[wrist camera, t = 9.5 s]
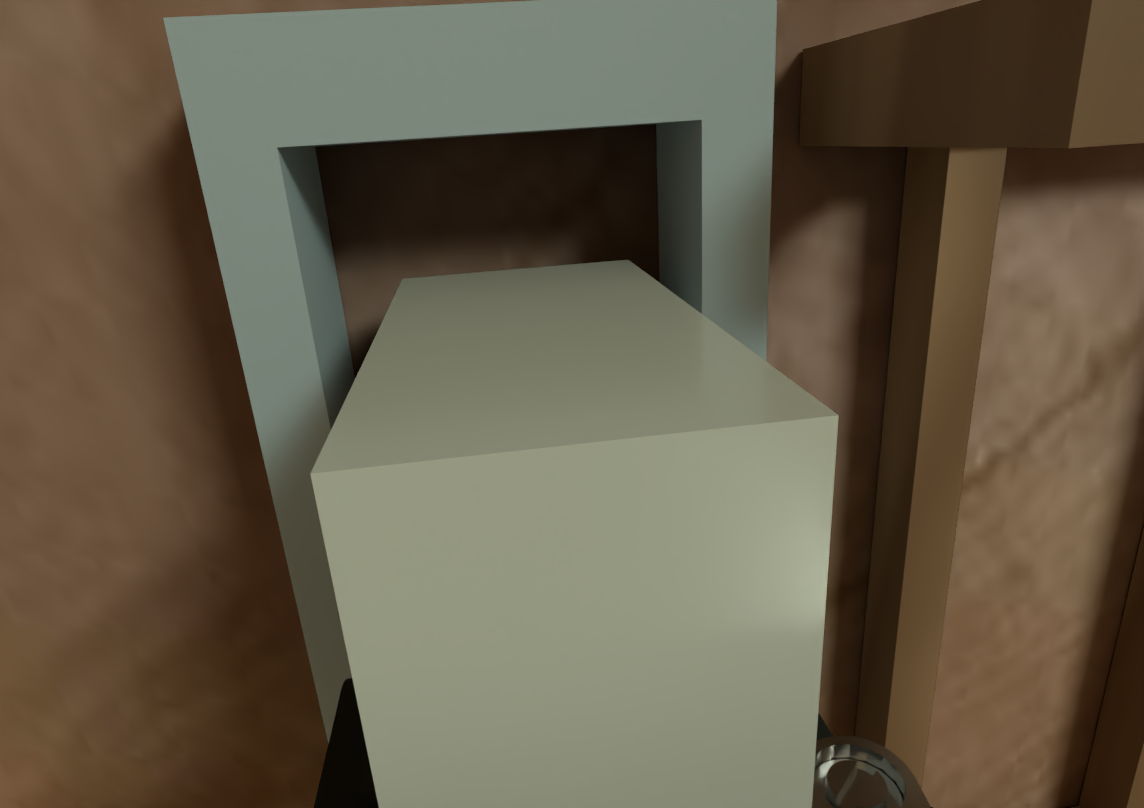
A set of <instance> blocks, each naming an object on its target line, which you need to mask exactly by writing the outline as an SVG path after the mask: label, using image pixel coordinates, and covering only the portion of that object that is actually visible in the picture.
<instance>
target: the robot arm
mask: <svg viewBox="0 0 1144 808" xmlns="http://www.w3.org/2000/svg"><path fill="white" fill-rule="evenodd" d="M314 808H379V806H378V801H377V796H376V791H375V786H374V782H373V777H372V772H371V767H370V762H369V757H368V752H367V747H366V743H365V738H364V733H363V728H362V723H361V718H360V713H359V709H358V704H357V699H356V694H355V689H354V684H353V679H352V678H349V679H346V680H345V681H344V682H343V685H342V688H341V692H340V697H339V701H338V705H337V710H336V714H335V718H334V723H333V727H332V731H331V736H330V740H329V744H328V749H327V753H326V757H325V762H324V766H323V770H322V775H321V779H320V783H319V788H318V792H317V796H316V801H315V805H314ZM812 808H932V807H930V805H929V803H928V801H927V799H926V797H925V795H924V793H923V791H922V789H921V787H920V786H919V784H918V782H917V780H916V778H915V776H914V775H913V773H912V772H911V771H910V769H909V768H908V767H907V765H906V764H905V763H904V762H903V761H902V760H901V759H900V758H898V757H897V756H896V755H895V754H894V753H893V752H891V751H890V750H888V749H886V748H884V747H882V746H880V745H879V744H877V743H875V742H872V741H869V740H866V739H862V738H859V737H854V736H841V735H837V736H832V734H831V732H830V731H829V729H828V728H827V726H826V724H825V723H824V721H823V719H822V718H821V716H820V715H819V713H818V724H817V739H816V753H815V768H814V782H813V797H812Z"/></svg>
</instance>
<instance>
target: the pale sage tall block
mask: <svg viewBox="0 0 1144 808" xmlns="http://www.w3.org/2000/svg"><path fill="white" fill-rule="evenodd" d="M838 417H839V415H838V414H836V413H835V412H834V411H832V410H831V409H829V408H828V407H827V406H825V405H824V404H823V403H821V402H820V401H819V400H817V399H816V398H815V397H813V396H812V395H811V394H809V393H808V392H807V391H805V390H804V389H802V388H801V387H800V386H798V385H797V384H796V383H794V382H793V381H792V380H790V379H789V378H788V377H786V376H785V375H784V374H782V373H781V372H779V371H778V370H777V369H775V368H774V367H773V366H771V365H770V364H769V363H767V362H766V361H765V360H763V359H762V358H761V357H759V356H758V355H757V354H755V353H754V352H752V351H751V350H750V349H748V348H747V347H746V346H744V345H743V344H742V343H740V342H739V341H738V340H736V339H735V338H734V337H732V336H731V335H729V334H728V333H727V332H725V331H724V330H723V329H721V328H720V327H719V326H717V325H716V324H715V323H713V322H712V321H711V320H709V319H708V318H706V317H705V316H704V315H702V314H701V313H700V312H698V311H697V310H696V309H694V308H693V307H692V306H690V305H689V304H688V303H686V302H685V301H684V300H682V299H681V298H679V297H678V296H677V295H675V294H674V293H673V292H671V291H670V290H669V289H667V288H666V287H665V286H663V285H662V284H661V283H659V282H658V281H656V280H655V279H654V278H652V277H651V276H650V275H648V274H647V273H646V272H644V271H643V270H642V269H640V268H639V267H638V266H636V265H635V264H633V263H632V262H631V261H629V260H618V261H606V262H594V263H583V264H571V265H559V266H547V267H536V268H524V269H512V270H500V271H488V272H477V273H465V274H453V275H441V276H430V277H418V278H406V279H402V281H401V283H400V285H399V288H398V290H397V292H396V294H395V296H394V298H393V300H392V302H391V304H390V307H389V309H388V311H387V313H386V315H385V317H384V319H383V321H382V323H381V326H380V328H379V330H378V332H377V334H376V336H375V338H374V340H373V342H372V345H371V347H370V349H369V351H368V353H367V355H366V357H365V359H364V361H363V364H362V366H361V368H360V370H359V372H358V374H357V376H356V378H355V380H354V383H353V385H352V387H351V389H350V391H349V393H348V395H347V397H346V399H345V402H344V404H343V406H342V408H341V410H340V412H339V414H338V416H337V418H336V420H335V423H334V425H333V427H332V429H331V431H330V433H329V435H328V437H327V439H326V442H325V444H324V446H323V448H322V450H321V452H320V454H319V456H318V458H317V461H316V463H315V465H314V467H313V469H312V471H311V473H310V475H311V480H312V484H313V489H314V494H315V499H316V504H317V509H318V514H319V519H320V523H321V528H322V533H323V538H324V543H325V548H326V553H327V558H328V562H329V567H330V572H331V577H332V582H333V587H334V592H335V597H336V601H337V606H338V611H339V616H340V621H341V626H342V631H343V635H344V640H345V645H346V650H347V655H348V660H349V665H350V670H351V674H352V679H353V684H354V689H355V694H356V699H357V704H358V709H359V713H360V718H361V723H362V728H363V733H364V738H365V743H366V747H367V752H368V757H369V762H370V767H371V772H372V777H373V782H374V786H375V791H376V796H377V801H378V806H379V808H812V797H813V782H814V768H815V753H816V739H817V724H818V709H819V695H820V680H821V665H822V651H823V636H824V621H825V607H826V592H827V578H828V563H829V548H830V534H831V519H832V504H833V490H834V475H835V461H836V446H837V431H838Z"/></svg>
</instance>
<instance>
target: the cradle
mask: <svg viewBox="0 0 1144 808" xmlns="http://www.w3.org/2000/svg"><path fill="white" fill-rule="evenodd" d="M163 19H164V23H165V28H166V32H167V37H168V41H169V45H170V50H171V54H172V59H173V63H174V67H175V72H176V76H177V81H178V85H179V89H180V94H181V98H182V103H183V107H184V111H185V116H186V120H187V125H188V129H189V133H190V138H191V142H192V147H193V151H194V155H195V160H196V164H197V169H198V173H199V177H200V182H201V186H202V191H203V195H204V199H205V204H206V208H207V213H208V217H209V221H210V226H211V230H212V235H213V239H214V243H215V248H216V252H217V257H218V261H219V265H220V270H221V274H222V279H223V283H224V287H225V292H226V296H227V301H228V305H229V309H230V314H231V318H232V323H233V327H234V331H235V336H236V340H237V345H238V349H239V353H240V358H241V362H242V367H243V371H244V375H245V380H246V384H247V389H248V393H249V397H250V402H251V406H252V411H253V415H254V419H255V424H256V428H257V433H258V437H259V442H260V446H261V450H262V455H263V459H264V464H265V468H266V472H267V477H268V481H269V486H270V490H271V494H272V499H273V503H274V508H275V512H276V516H277V521H278V525H279V530H280V534H281V538H282V543H283V547H284V552H285V556H286V560H287V565H288V569H289V574H290V578H291V582H292V587H293V591H294V596H295V600H296V604H297V609H298V613H299V618H300V622H301V626H302V631H303V635H304V640H305V644H306V648H307V653H308V657H309V662H310V666H311V670H312V675H313V679H314V684H315V688H316V692H317V697H318V701H319V706H320V710H321V714H322V719H323V723H324V728H325V732H326V736H327V741H328V744H329V740H330V736H331V731H332V727H333V723H334V718H335V714H336V710H337V705H338V701H339V697H340V692H341V688H342V685H343V682H344V681H345V680H346V679H349V678H352V674H351V670H350V665H349V660H348V655H347V650H346V645H345V640H344V635H343V631H342V626H341V621H340V616H339V611H338V606H337V601H336V597H335V592H334V587H333V582H332V577H331V572H330V567H329V562H328V558H327V553H326V548H325V543H324V538H323V533H322V528H321V523H320V519H319V514H318V509H317V504H316V499H315V494H314V489H313V484H312V480H311V475H310V473H311V471H312V469H313V467H314V465H315V463H316V461H317V458H318V456H319V454H320V452H321V450H322V448H323V446H324V444H325V442H326V439H327V437H328V435H329V433H330V431H331V429H332V427H333V425H334V423H335V420H336V418H337V416H338V414H339V412H340V410H341V408H342V406H343V404H344V402H345V399H346V397H347V395H348V393H349V391H350V389H351V387H352V385H353V383H354V380H355V375H354V369H353V363H352V358H351V352H350V346H349V340H348V335H347V329H346V323H345V317H344V311H343V306H342V300H341V294H340V288H339V282H338V277H337V271H336V265H335V259H334V254H333V248H332V242H331V236H330V230H329V225H328V219H327V213H326V207H325V201H324V196H323V190H322V184H321V178H320V173H319V167H318V161H317V155H316V149H315V147H317V146H332V145H348V144H363V143H378V142H393V141H409V140H424V139H439V138H454V137H470V136H485V135H500V134H515V133H530V132H546V131H561V130H576V129H591V128H607V127H622V126H637V125H652V124H656V142H657V189H658V235H659V282H660V283H661V284H662V285H663V286H665V287H666V288H667V289H669V290H670V291H671V292H673V293H674V294H675V295H677V296H678V297H679V298H681V299H682V300H684V301H685V302H686V303H688V304H689V305H690V306H692V307H693V308H694V309H696V310H697V311H698V312H700V313H701V314H702V315H704V316H705V317H706V318H708V319H709V320H711V321H712V322H713V323H715V324H716V325H717V326H719V327H720V328H721V329H723V330H724V331H725V332H727V333H728V334H729V335H731V336H732V337H734V338H735V339H736V340H738V341H739V342H740V343H742V344H743V345H744V346H746V347H747V348H748V349H750V350H751V351H752V352H754V353H755V354H757V355H758V356H759V357H761V358H762V359H763V360H765V361H766V352H767V319H768V286H769V252H770V219H771V185H772V152H773V119H774V85H775V52H776V19H777V0H538V1H516V2H494V3H473V4H451V5H429V6H408V7H386V8H364V9H343V10H321V11H299V12H278V13H256V14H234V15H213V16H191V17H169V18H163Z"/></svg>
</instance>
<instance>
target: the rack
mask: <svg viewBox="0 0 1144 808" xmlns="http://www.w3.org/2000/svg"><path fill="white" fill-rule="evenodd" d="M1135 143H1144V0H981V1H977V2H974V3H970V4H966V5H963V6H959V7H955V8H952V9H948V10H945V11H941V12H937V13H934V14H930V15H926V16H923V17H919V18H916V19H912V20H908V21H905V22H901V23H898V24H894V25H890V26H887V27H883V28H879V29H876V30H872V31H869V32H865V33H861V34H858V35H854V36H850V37H847V38H843V39H840V40H836V41H832V42H829V43H825V44H821V45H818V46H814V47H811V48H807V49H803V63H802V87H801V111H800V135H799V146H850V147H908V150H907V161H906V172H905V183H904V194H903V205H902V216H901V228H900V239H899V250H898V261H897V272H896V283H895V294H894V305H893V317H892V328H891V339H890V350H889V361H888V372H887V383H886V394H885V406H884V417H883V428H882V439H881V450H880V461H879V472H878V483H877V495H876V506H875V517H874V528H873V539H872V550H871V561H870V573H869V584H868V595H867V606H866V617H865V628H864V639H863V650H862V662H861V673H860V684H859V695H858V706H857V717H856V728H855V737H859V738H862V739H866V740H869V741H872V742H875V743H877V744H879V745H880V746H882V747H884V748H886V749H888V750H890V751H891V752H893V753H894V754H895V755H896V756H897V757H898V758H900V759H901V760H902V761H903V762H904V763H905V764H906V765H907V767H908V768H909V769H910V771H911V772H912V773H913V775H914V776H915V778H916V780H917V782H918V784H919V786H920V787H921V788H922V781H923V773H924V766H925V758H926V751H927V743H928V736H929V729H930V721H931V714H932V706H933V699H934V691H935V684H936V676H937V669H938V661H939V654H940V647H941V639H942V632H943V624H944V617H945V609H946V602H947V594H948V587H949V579H950V572H951V564H952V557H953V550H954V542H955V535H956V527H957V520H958V512H959V505H960V497H961V490H962V482H963V475H964V467H965V460H966V453H967V445H968V438H969V430H970V423H971V415H972V408H973V400H974V393H975V385H976V378H977V371H978V363H979V356H980V348H981V341H982V333H983V326H984V318H985V311H986V303H987V296H988V288H989V281H990V274H991V266H992V259H993V251H994V244H995V236H996V229H997V221H998V214H999V206H1000V199H1001V192H1002V184H1003V177H1004V169H1005V162H1006V154H1007V148H1081V147H1094V146H1108V145H1122V144H1135ZM1072 808H1144V528H1143V532H1142V536H1141V541H1140V545H1139V549H1138V553H1137V558H1136V562H1135V566H1134V571H1133V575H1132V579H1131V583H1130V588H1129V592H1128V596H1127V601H1126V605H1125V609H1124V613H1123V618H1122V622H1121V626H1120V630H1119V635H1118V639H1117V643H1116V648H1115V652H1114V656H1113V660H1112V665H1111V669H1110V673H1109V677H1108V682H1107V686H1106V690H1105V695H1104V699H1103V703H1102V707H1101V712H1100V716H1099V720H1098V725H1097V729H1096V733H1095V737H1094V742H1093V746H1092V750H1091V754H1090V759H1089V763H1088V767H1087V772H1086V776H1085V780H1084V784H1083V789H1082V793H1081V797H1080V802H1079V806H1077V807H1072Z"/></svg>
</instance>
